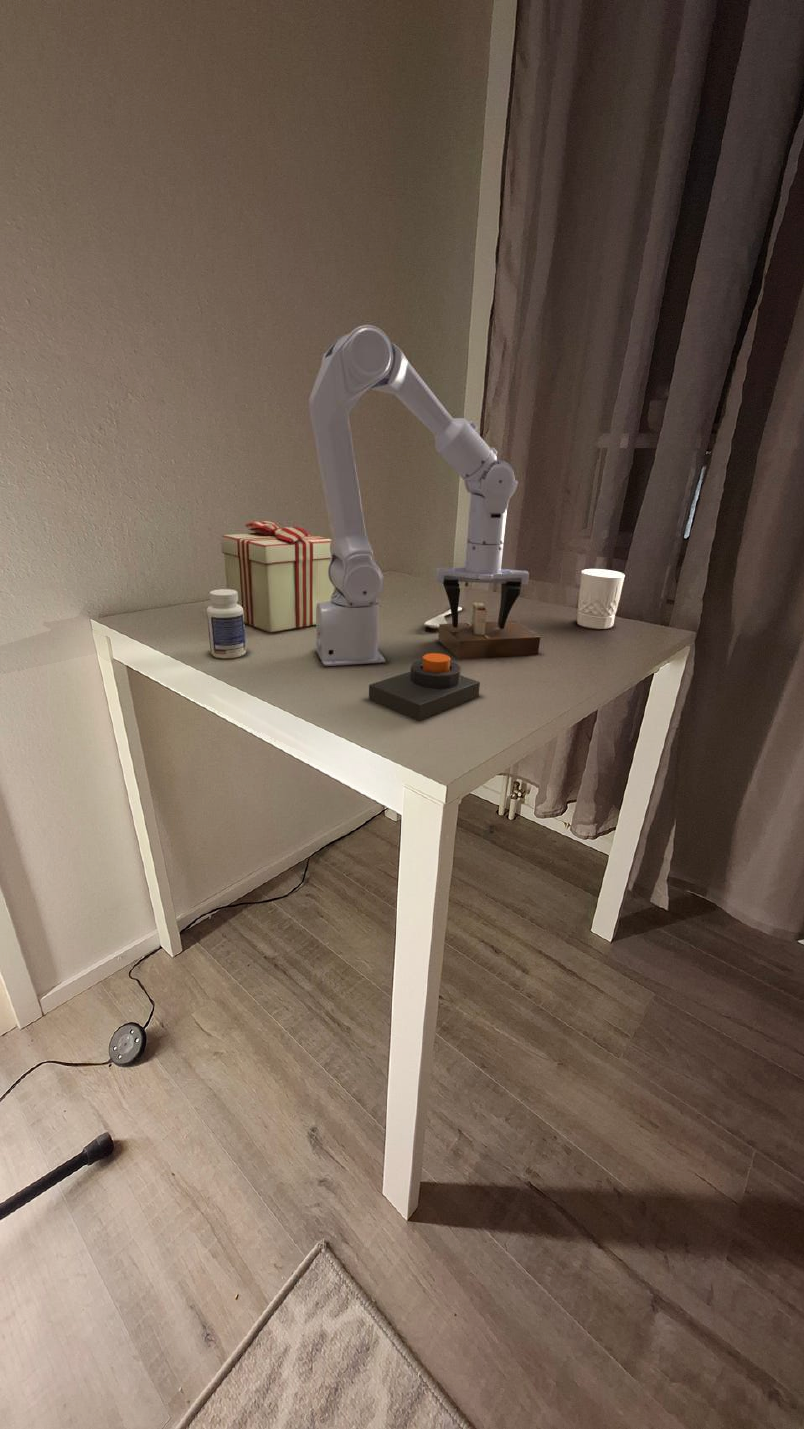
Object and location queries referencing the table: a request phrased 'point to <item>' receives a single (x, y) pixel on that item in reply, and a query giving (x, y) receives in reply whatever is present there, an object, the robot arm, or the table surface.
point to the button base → (424, 691)
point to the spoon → (439, 620)
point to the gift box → (278, 575)
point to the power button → (436, 662)
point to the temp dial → (478, 619)
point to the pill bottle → (226, 624)
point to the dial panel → (488, 640)
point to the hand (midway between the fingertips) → (477, 626)
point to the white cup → (599, 597)
